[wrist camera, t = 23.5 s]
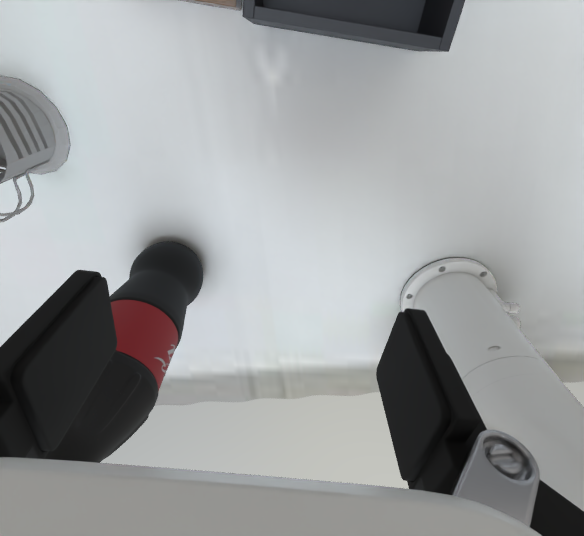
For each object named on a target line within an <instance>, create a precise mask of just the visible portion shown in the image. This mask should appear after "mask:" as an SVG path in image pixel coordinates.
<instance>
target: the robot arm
mask: <svg viewBox="0 0 584 536" xmlns="http://www.w3.org/2000/svg"><path fill="white" fill-rule="evenodd" d="M400 308H401V311H402V312H399V314H398V316H397V318H396V321H395V323H394V326H393V328H392V331H391V334H390V336H389V339H388V341H387V344H386V346H385V349H384V352H383V354H382V357H381V359H380V362H379V365H378V367H377V374H376V375H377V381H378V385H379V389H380V393H381V397H382V401H383V406H384V410H385V414H386V418H387V421H388V426H389V429H390V433H391V438H392V442H393V446H394V450H395V454H396V458H397V461H398V466H399V470H400V474H401V477H402V479H403V480H406V481H407V482H408V486H409V489H403V488H394V487H384V486H375V485H363V484H353V483H342V482H330V481H319V480H307V479H296V478H283V477H271V476H260V475H247V474H235V473H224V472H211V471H199V470H198V471H197V470H186V469H174V468H161V467H148V466H135V465H122V464H109V463H96V462H82V461H67V460H50V459H45V458H46V456H47V454H48V453H49V451H54V450H55V449H56V448H57V447H58V446H59V444H60V443H61V441H62V439H63V438H64V436H65V434H66V433H67V431H68V429H69V428H70V426H71V424H72V423H73V421H74V419H75V418H76V416H77V414H78V412H79V411H80V409H81V407H82V406H83V404H84V402H85V401H86V399H87V397H88V396H89V394H90V392H91V391H92V389H93V387H94V386H95V384H96V382H97V381H98V379H99V377H100V376H101V374H102V372H103V371H104V369H105V367H106V366H107V364H108V362H109V361H110V359H111V357H112V356H113V354H114V352H115V350H116V347H117V336H116V331H115V325H114V319H113V314H112V308H111V302H110V297H109V291H108V285H107V281H106V279H105V278H104V277H101V274H100V273H99V272H93V271H85V270H77V271H76V272H74V273H73V274H72V275H71V276H70V277H69V278H68V279H67V281H66V282H65V283H64V284H63V285H62V286H61V287H60V288H59V289H58V290H57V291H56V292H55V293H54V294H53V295H52V296H51V297H50V298H49V299H48V300H47V301H46V302H45V303H44V304H43V305H42V306H41V307H40V308H39V309H38V310H37V311H36V312H35V313H34V314H33V315H32V316H31V317H30V318H29V319H28V320H27V321H26V322H25V323H24V324H23V325H22V326H21V327H20V328H19V329H18V330H17V331H16V332H15V333H14V334H13V335H12V336H11V337H10V338H9V339H8V340H7V341H6V342H5V343H4V344H3V345H2V346H1V347H0V536H584V407H583V406H582V404H581V403H580V402H579V401H578V400H577V399H576V397H575V396H574V395H573V394H572V393H571V392H570V390H569V389H568V388H567V387H566V386H565V385H564V383H563V382H562V381H561V380H560V379H559V377H558V376H557V375H556V374H555V372H554V371H553V370H552V369H551V367H550V366H549V365H548V364H547V362H546V361H545V360H544V359H543V357H542V356H541V355H540V354H539V352H538V351H537V350H536V349H535V347H534V346H533V345H532V344H531V342H530V341H529V340H528V339H527V337H526V336H525V335H524V334H523V333H522V331H521V330H520V326H521V321H520V319H519V318H518V317H513V316H509V315H508V314H507V313H514V314H516V313H518V312H519V310H520V306H519V304H517V303H510V302H503V301H502V300H501V299H500V297H499V296H498V295H497V283H496V281H495V278H494V276H493V275H492V274H491V272H490V271H489V270H488V269H487V268H486V267H485V266H484V265H482V264H481V263H479V262H477V261H474V260H471V259H466V258H449V259H444V260H440V261H437V262H434V263H431V264H429V265H428V266H426V267H424V268H422V269H421V270H420V271H418V272H417V273H415V274H414V275H413V277H412V278H411V279H410V280H409V281H408V282H407V284H406V285H405V287H404V289H403V291H402V294H401V298H400Z"/></svg>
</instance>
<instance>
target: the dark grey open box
mask: <svg viewBox="0 0 584 536" xmlns="http://www.w3.org/2000/svg"><path fill="white" fill-rule="evenodd" d="M464 2H465V0H244V4H243V17H244V18H246V19H247V20H249V21H251V22H252V23H253V24H258V25H264V26H270V27H276V28H282V29H288V30H294V31H300V32H306V33H312V34H318V35H324V36H330V37H336V38H342V39H348V40H354V41H360V42H366V43H372V44H378V45H384V46H390V47H396V48H402V49H408V50H414V51H447V52H448V51H449V49H450V46H451V43H452V40H453V36H454V33H455V30H456V27H457V24H458V21H459V18H460V15H461V12H462V8H463V5H464Z"/></svg>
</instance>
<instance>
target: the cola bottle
mask: <svg viewBox="0 0 584 536" xmlns="http://www.w3.org/2000/svg"><path fill="white" fill-rule="evenodd" d="M202 282H203V269H202V265H201V262H200V260H199V258H198V257H197V255H196V254H195V253H194V252H193V251H192V250H190V249H189V248H188V247H186V246H184V245H182V244H179V243H175V242H160V243H157V244H154V245H152V246H150V247H148V248H147V249H145V250H144V251H143V252H141V253H140V254H139V255H138V257H137V258H136V259H135V261H134V263H133V265H132V267H131V271H130V278H129V280H128V281H127V282H126V283H124V284H123V285H122V286H121V287H120V288H119V289H118V290H117V291H115V292H114V293H113V294H112V295H111V296H110V302H111V308H112V314H113V319H114V325H115V331H116V336H117V347H116V350H115V352H114V354H113V356H112V357H111V359H110V361H109V362H108V364H107V366H106V367H105V369H104V371H103V372H102V374H101V376H100V377H99V379H98V381H97V382H96V384H95V386H94V387H93V389H92V391H91V392H90V394H89V396H88V397H87V399H86V401H85V402H84V404H83V406H82V407H81V409H80V411H79V412H78V414H77V416H76V418H75V419H74V421H73V423H72V424H71V426H70V428H69V429H68V431H67V433H66V434H65V436H64V438H63V439H62V441H61V443H60V444H59V446H58V447H57V448H56V449H55V450H54V451H49V453H48V454H47V456H46V458H45V459H50V460H67V461H82V462H96V463H100V462H101V461H102V460H103V459H105V458H106V457H108V456H109V455H111V454H112V453H113V452H114V451H115V450H117V449H118V448H119V447H120V446H121V445H122V444H123V443H125V442H126V441H127V440H128V439H129V438H130V437H131V436H132V435H133V434H134V433H135V432H136V431H137V430H138V428H139V427H140V426H141V425H142V424H143V423H144V422H145V421H146V420H147V418H148V415H149V413H150V412H151V410H152V409H153V407H154V405H155V402H156V400H157V397H158V391H159V388H160V386H161V383H162V381H163V378H164V376H165V373H166V371H167V368H168V366H169V363H170V361H171V358H172V356H173V353H174V351H175V349H176V348H177V346H178V344H179V342H180V339H181V336H182V331H183V325H184V319H185V314H186V308H187V306H188V305H189V304H190V303H191V302H192V301H193V300H194V299H195V298H196V297H197V295H198V293H199V292H200V289H201V286H202Z"/></svg>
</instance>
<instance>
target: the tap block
mask: <svg viewBox="0 0 584 536" xmlns="http://www.w3.org/2000/svg"><path fill="white" fill-rule="evenodd" d="M180 1H186V2H192V3H197V4H203V5H209V6H215V7H221V8H227V9H233V10H239V11H241V0H180Z"/></svg>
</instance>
